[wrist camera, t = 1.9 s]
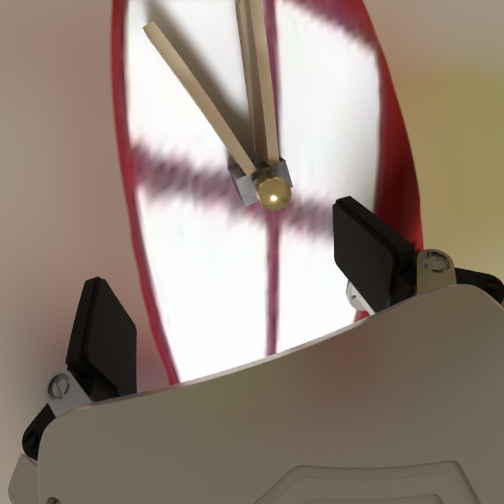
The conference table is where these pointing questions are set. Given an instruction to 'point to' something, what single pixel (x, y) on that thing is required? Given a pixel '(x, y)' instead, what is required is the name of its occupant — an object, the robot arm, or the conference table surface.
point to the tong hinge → (257, 178)
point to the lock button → (273, 192)
